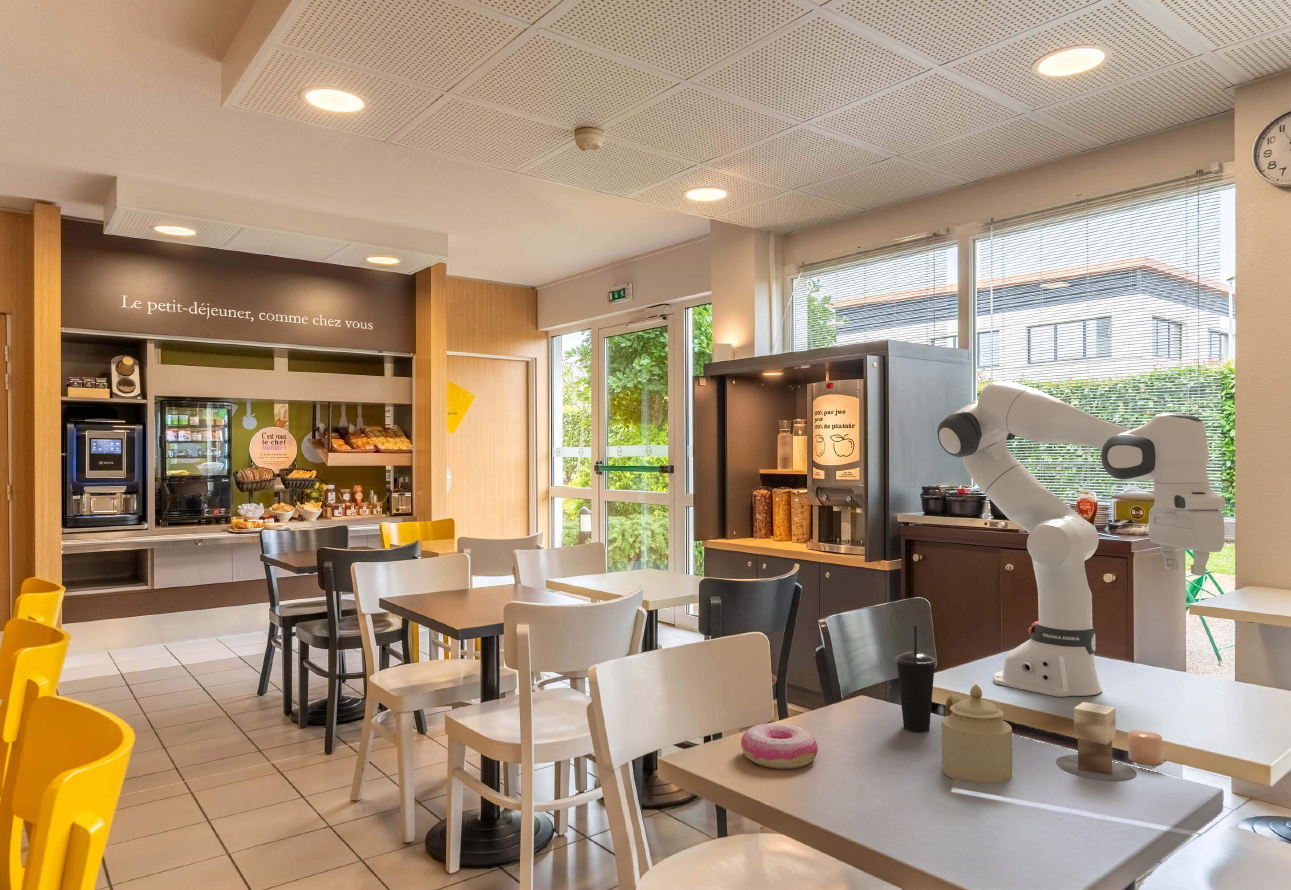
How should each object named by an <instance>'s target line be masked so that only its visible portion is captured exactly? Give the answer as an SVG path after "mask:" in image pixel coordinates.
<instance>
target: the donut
mask: <svg viewBox="0 0 1291 890" xmlns="http://www.w3.org/2000/svg"><path fill="white" fill-rule="evenodd" d="M740 741H741V742H740V747H741V749H742V753H743V754H744V756H745V757H747V759H748V760H750V761H751V762H753V763H754V764H757V765H759V766H762V767H766V768H770V769H777V770H778V769H779V770H782V769H783V770H788V769H789V770H790V769H797V768H802V767H805V766H807V765H809V764H810V763H811V762H813V761H815V759H816V757H817V754H818V743H817V740H816V739H815V737H814V735H813V734H811V733H810V732H809V731H808V730H806V729H805V728H803V727H799V726H797V725H794V724H787V723H779V722H771V723H770V722H768V723H760V724H756V725H753V726H752V727H750V728H749V729H748V730H746V731H745V732H744V733H743V735H742V737H741V740H740Z"/></svg>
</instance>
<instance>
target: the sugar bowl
mask: <svg viewBox="0 0 1291 890" xmlns="http://www.w3.org/2000/svg"><path fill="white" fill-rule="evenodd" d="M969 695H970V696H971V698H967V699H963V698H962V696H960V695H958V694H951V695H949V696H947V698H946V699H945V700H946V701H945V717H943V718H942V720H941V769H942V772H943V773H944V775H945V776H947V777H948V778H950V779H952V780H955V779H958V780H963V781H967V782H972V783H978V784H979V783H980V784H999V783H1003V782H1007V781H1009V780H1011V778H1012V777H1013V728H1012V727H1013V726H1011V724H1009V723H1008V722H1006V721H1005V720H1003V718H1002V716H1004V712H1003V710H1002V709H1000V708H998V707H997V706H996V705H995V704H993V703H992V702H989V701H987V700H982V699H981V698H982V696H983V691H982V689H981V687H980V686H979V685H978V684H974V685H973V686H972V687H971V689H970V691H969Z"/></svg>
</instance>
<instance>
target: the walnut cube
mask: <svg viewBox="0 0 1291 890" xmlns="http://www.w3.org/2000/svg"><path fill="white" fill-rule="evenodd" d="M1077 755H1078V770H1084V771H1090V772H1096V773H1102V774H1109V775H1112V760H1113V740H1112V741H1111V742H1110V743H1108V744H1107V745H1105V744H1100V743H1096V742H1091V741H1087V740H1082V739H1077Z"/></svg>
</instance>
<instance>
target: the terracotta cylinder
mask: <svg viewBox="0 0 1291 890" xmlns="http://www.w3.org/2000/svg"><path fill="white" fill-rule="evenodd" d="M1127 737H1128V738H1127V739H1128V741H1127V743H1128V744H1127V746H1128V747H1127V748H1128V749H1127V750H1128V752H1127V753H1128V760H1129V761H1131V762H1132V763H1135V764H1138V765H1143V766H1149V767H1150V766H1151V767H1157V766H1161V765H1163V737H1162V735H1160V734H1158V733H1155V732H1152V731H1148V730H1142V729H1141V730H1140V729H1138V730H1137V729H1136V730H1129V731H1128V732H1127Z"/></svg>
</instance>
